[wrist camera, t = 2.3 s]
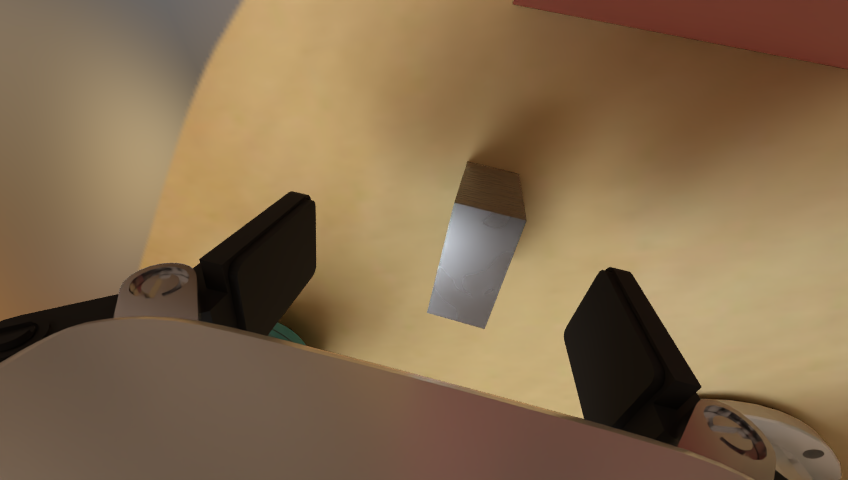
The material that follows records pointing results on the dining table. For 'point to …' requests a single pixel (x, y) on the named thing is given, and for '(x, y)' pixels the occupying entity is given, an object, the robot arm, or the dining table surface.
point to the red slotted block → (729, 23)
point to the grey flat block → (478, 244)
